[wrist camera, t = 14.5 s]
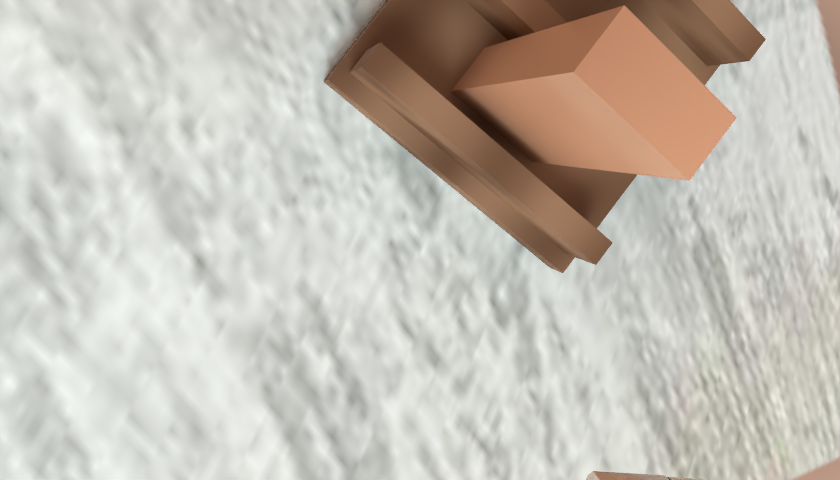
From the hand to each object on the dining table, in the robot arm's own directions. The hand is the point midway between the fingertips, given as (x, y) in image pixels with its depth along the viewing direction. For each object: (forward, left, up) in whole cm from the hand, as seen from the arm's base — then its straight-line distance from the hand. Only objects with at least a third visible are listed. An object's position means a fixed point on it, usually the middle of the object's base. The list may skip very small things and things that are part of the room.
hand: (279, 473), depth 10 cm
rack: (+6, +14, -24) cm, 28 cm away
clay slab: (+6, +12, -22) cm, 26 cm away
